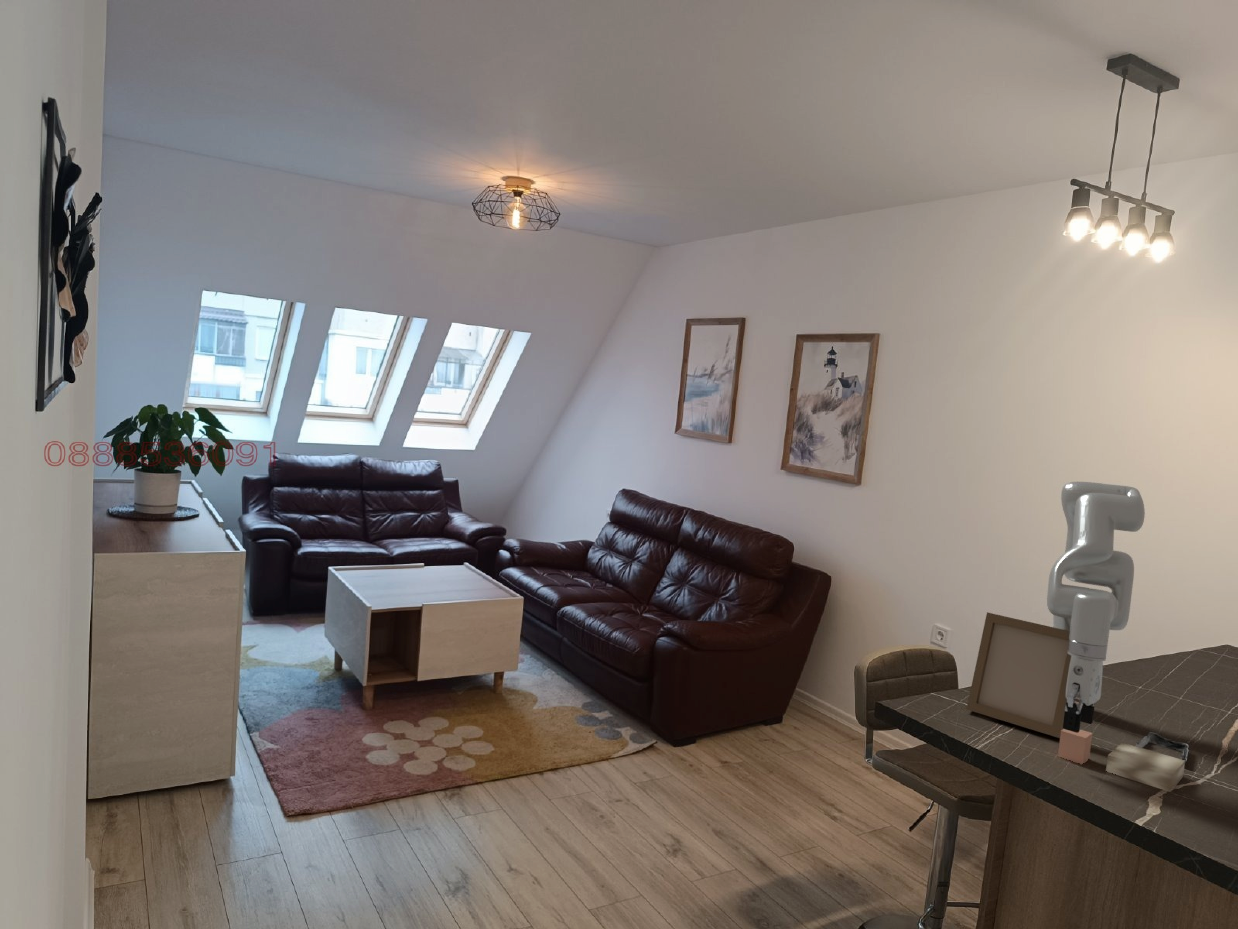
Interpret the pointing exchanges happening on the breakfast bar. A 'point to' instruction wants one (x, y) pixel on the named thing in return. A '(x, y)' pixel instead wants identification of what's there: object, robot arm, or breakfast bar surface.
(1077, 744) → the terracotta block
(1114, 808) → the breakfast bar surface
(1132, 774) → the birch block
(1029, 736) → the breakfast bar surface
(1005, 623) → the photo frame
